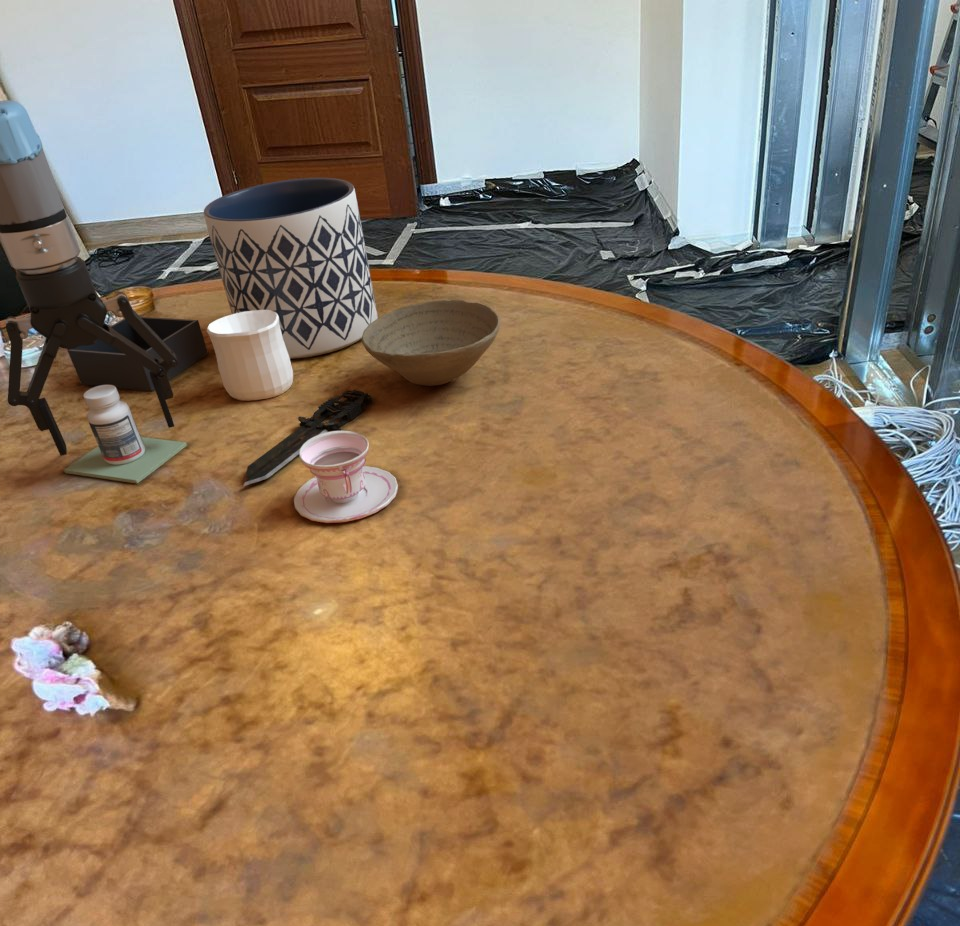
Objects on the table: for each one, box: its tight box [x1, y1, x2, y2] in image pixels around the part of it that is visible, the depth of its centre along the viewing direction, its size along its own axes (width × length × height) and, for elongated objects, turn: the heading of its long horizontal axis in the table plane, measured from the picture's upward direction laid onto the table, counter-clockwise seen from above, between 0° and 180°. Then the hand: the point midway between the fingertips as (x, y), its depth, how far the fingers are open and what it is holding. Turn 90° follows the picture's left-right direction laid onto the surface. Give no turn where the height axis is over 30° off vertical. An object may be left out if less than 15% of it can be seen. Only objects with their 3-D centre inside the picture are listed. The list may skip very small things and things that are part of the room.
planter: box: [203, 177, 379, 360], centre depth 136 cm, size 22×22×20 cm
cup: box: [206, 310, 294, 402], centre depth 125 cm, size 10×10×10 cm
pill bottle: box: [83, 385, 145, 465], centre depth 111 cm, size 5×5×9 cm
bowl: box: [361, 299, 501, 387], centre depth 121 cm, size 18×18×8 cm
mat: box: [63, 436, 188, 484], centre depth 114 cm, size 12×10×1 cm
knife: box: [242, 389, 373, 487], centre depth 113 cm, size 25×6×1 cm, turn 147°
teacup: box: [293, 430, 399, 524], centre depth 99 cm, size 12×12×6 cm
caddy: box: [67, 316, 209, 392], centre depth 137 cm, size 14×14×5 cm
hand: (117, 437), depth 112 cm, fingers open, 13 cm apart
